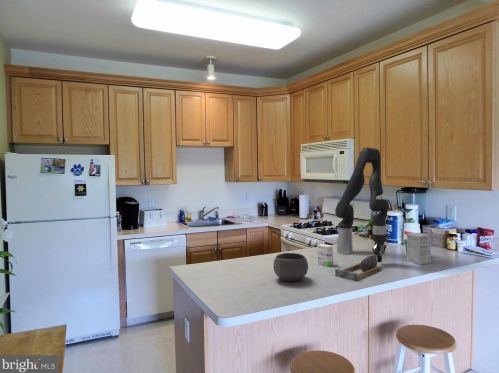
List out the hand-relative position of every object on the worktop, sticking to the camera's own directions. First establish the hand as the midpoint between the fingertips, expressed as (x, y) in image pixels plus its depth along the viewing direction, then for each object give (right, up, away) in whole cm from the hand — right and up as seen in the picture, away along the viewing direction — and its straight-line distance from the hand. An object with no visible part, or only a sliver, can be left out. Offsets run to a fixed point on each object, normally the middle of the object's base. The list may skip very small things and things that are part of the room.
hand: (379, 261), depth 200 cm
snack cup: (+28, 0, +16) cm, 32 cm away
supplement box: (+25, -1, +3) cm, 25 cm away
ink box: (-31, -3, +3) cm, 32 cm away
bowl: (-55, -5, -22) cm, 60 cm away
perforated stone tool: (-9, -3, -8) cm, 13 cm away
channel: (-17, -3, -15) cm, 23 cm away
